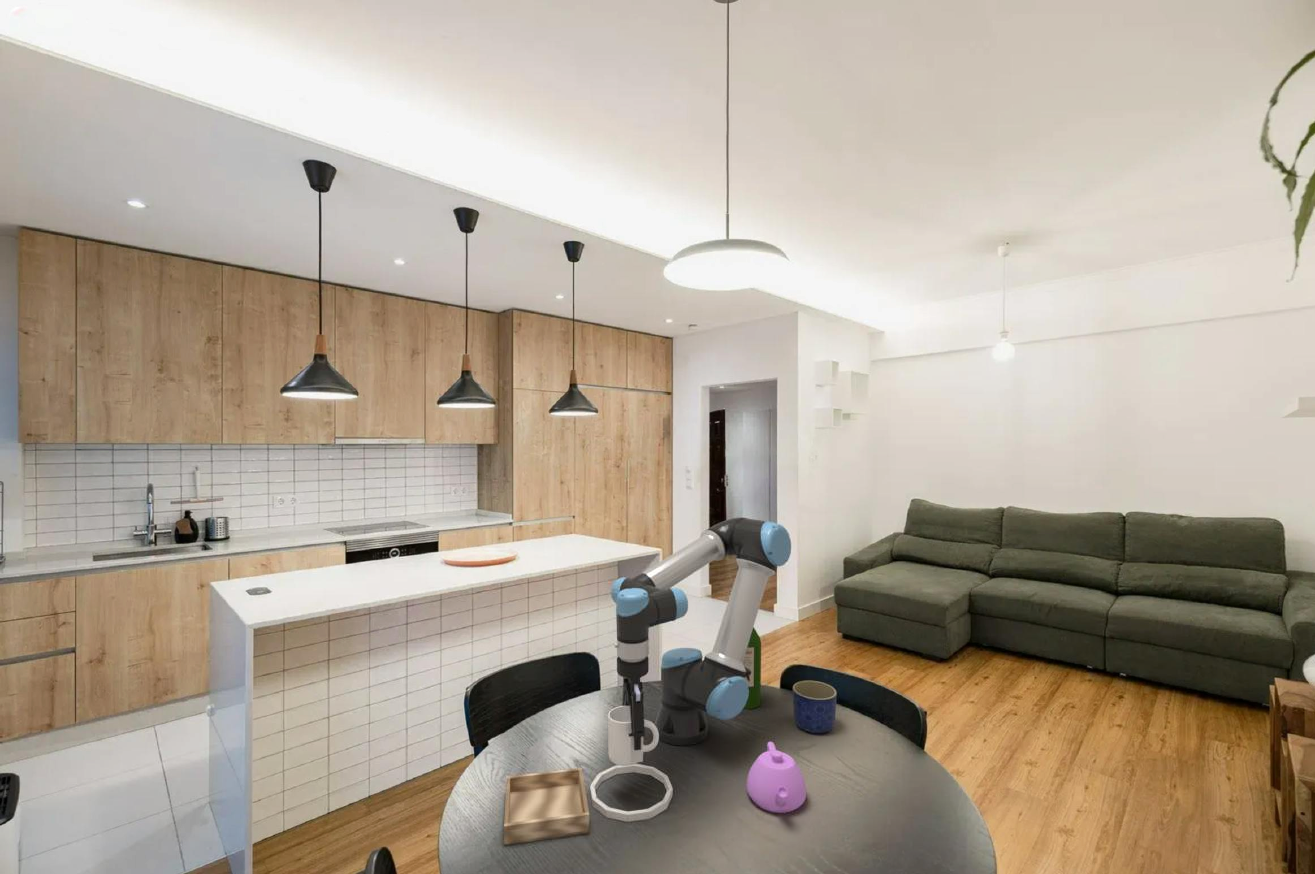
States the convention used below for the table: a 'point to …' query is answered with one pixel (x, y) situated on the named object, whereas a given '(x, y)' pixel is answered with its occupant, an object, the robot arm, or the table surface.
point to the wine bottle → (753, 670)
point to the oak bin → (545, 806)
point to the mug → (625, 736)
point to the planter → (814, 706)
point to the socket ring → (638, 813)
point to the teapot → (776, 782)
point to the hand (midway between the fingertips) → (633, 750)
